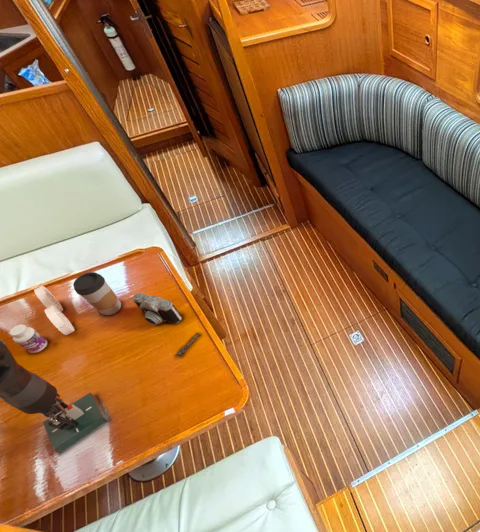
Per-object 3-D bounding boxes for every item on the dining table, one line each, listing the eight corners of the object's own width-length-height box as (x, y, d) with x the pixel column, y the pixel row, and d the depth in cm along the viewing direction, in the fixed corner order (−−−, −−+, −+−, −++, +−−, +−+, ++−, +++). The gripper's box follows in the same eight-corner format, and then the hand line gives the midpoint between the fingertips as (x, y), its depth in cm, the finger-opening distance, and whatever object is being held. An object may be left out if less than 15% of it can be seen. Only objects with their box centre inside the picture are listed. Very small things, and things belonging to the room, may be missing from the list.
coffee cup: (111, 296, 140) (87, 268, 129) (130, 302, 138) (106, 274, 127) (92, 314, 135) (65, 286, 124) (111, 321, 133) (85, 293, 122)
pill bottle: (31, 356, 124) (9, 340, 117) (26, 346, 126) (4, 330, 119) (50, 345, 126) (29, 329, 119) (45, 336, 129) (24, 319, 122)
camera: (135, 320, 133) (119, 302, 126) (149, 305, 137) (135, 287, 130) (171, 332, 130) (157, 314, 123) (184, 316, 134) (172, 298, 127)
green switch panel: (60, 452, 105) (53, 449, 102) (49, 426, 109) (42, 421, 107) (108, 420, 111) (101, 416, 108) (95, 396, 115) (89, 391, 113)
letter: (50, 302, 138) (30, 284, 131) (57, 298, 139) (38, 280, 132) (70, 340, 128) (50, 323, 120) (78, 336, 129) (58, 318, 121)
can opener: (197, 334, 129) (196, 332, 129) (202, 336, 129) (201, 335, 128) (175, 355, 124) (173, 353, 123) (180, 358, 123) (178, 356, 123)
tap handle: (62, 428, 106) (50, 421, 103) (60, 424, 107) (48, 418, 103) (84, 413, 109) (73, 407, 105) (82, 410, 109) (71, 403, 106)
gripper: (54, 401, 93) (95, 427, 106) (36, 362, 100) (77, 391, 112) (17, 424, 90) (64, 448, 102) (1, 382, 96) (47, 410, 109)
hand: (71, 418), depth 107 cm, fingers open, 5 cm apart
